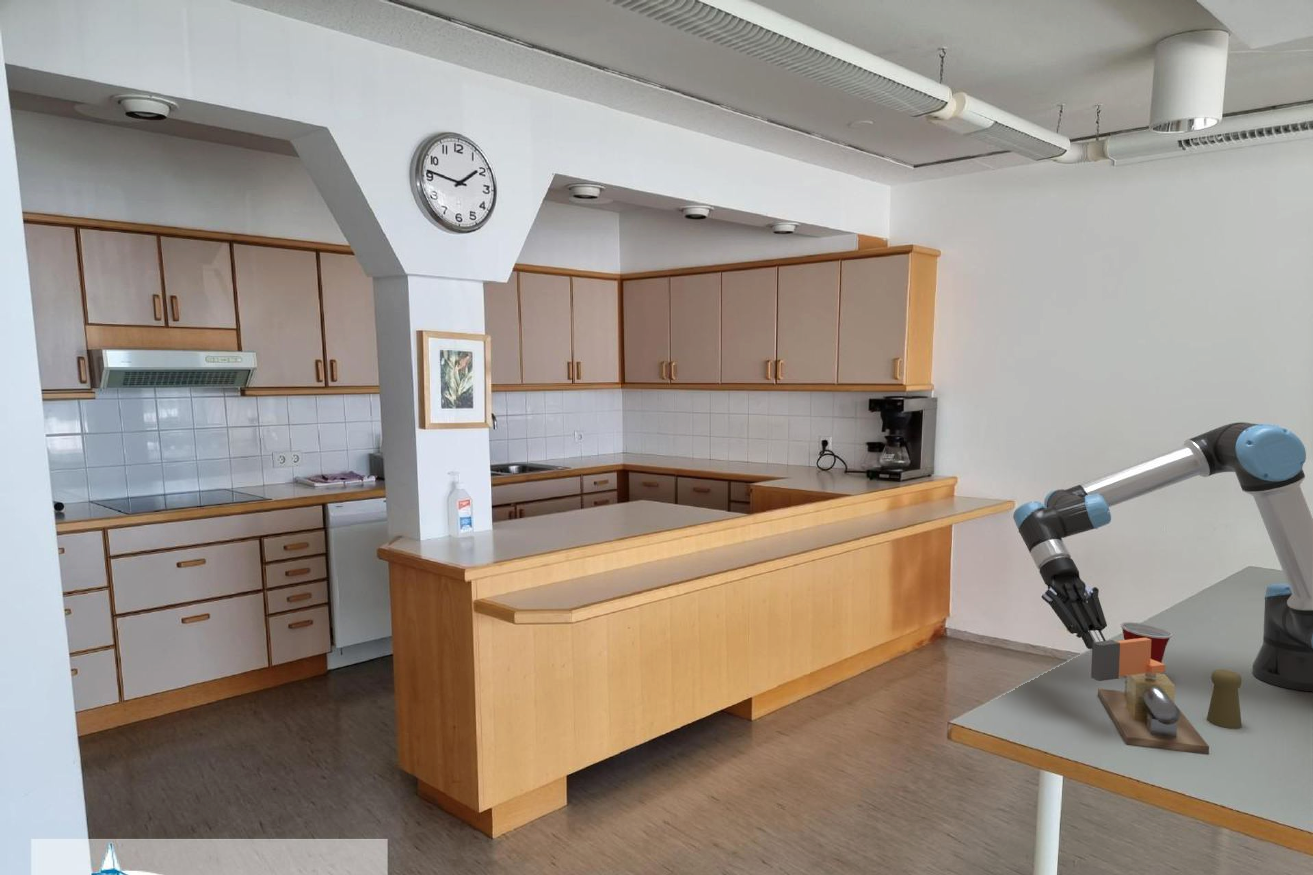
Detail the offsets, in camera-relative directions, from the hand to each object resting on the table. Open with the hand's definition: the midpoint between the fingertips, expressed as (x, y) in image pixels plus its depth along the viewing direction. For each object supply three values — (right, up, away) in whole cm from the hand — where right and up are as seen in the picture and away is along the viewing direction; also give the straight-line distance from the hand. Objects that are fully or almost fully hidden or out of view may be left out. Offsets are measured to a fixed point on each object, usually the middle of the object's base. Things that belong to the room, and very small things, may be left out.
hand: (1105, 661), depth 168 cm
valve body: (+10, -12, +1) cm, 15 cm away
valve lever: (+4, -3, -1) cm, 5 cm away
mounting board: (+10, -13, +2) cm, 16 cm away
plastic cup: (+25, -11, +28) cm, 39 cm away
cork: (+26, -13, +1) cm, 29 cm away
